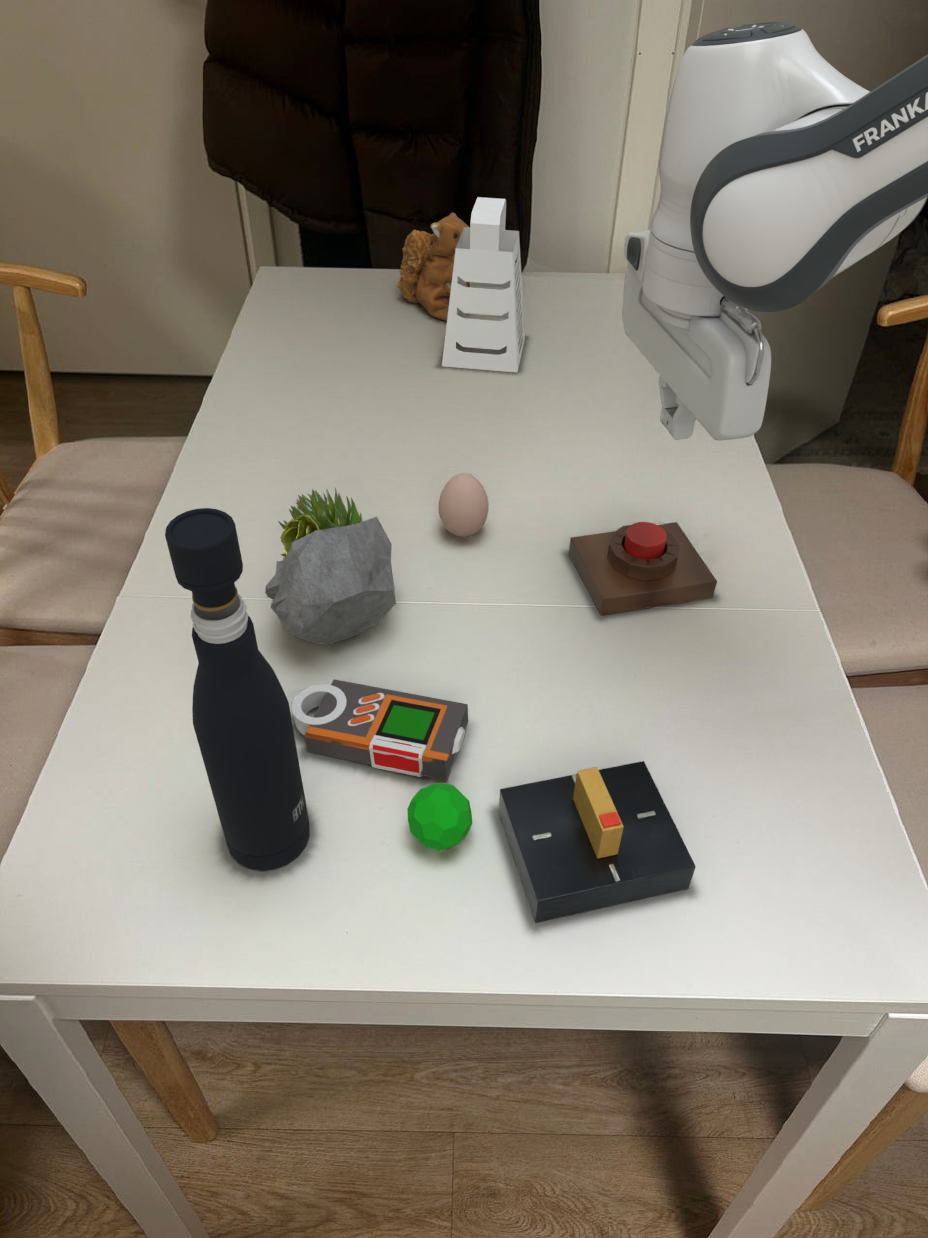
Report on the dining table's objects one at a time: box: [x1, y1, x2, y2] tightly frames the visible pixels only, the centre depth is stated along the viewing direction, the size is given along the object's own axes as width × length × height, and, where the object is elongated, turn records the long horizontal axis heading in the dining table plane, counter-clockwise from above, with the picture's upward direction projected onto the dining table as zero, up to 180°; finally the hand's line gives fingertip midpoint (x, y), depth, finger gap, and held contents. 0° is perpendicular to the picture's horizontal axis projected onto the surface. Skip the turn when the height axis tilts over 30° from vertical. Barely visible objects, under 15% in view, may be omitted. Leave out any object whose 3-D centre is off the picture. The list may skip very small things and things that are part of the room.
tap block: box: [498, 760, 697, 924], centre depth 71 cm, size 12×10×3 cm
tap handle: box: [573, 766, 624, 859], centre depth 69 cm, size 6×2×4 cm, turn 14°
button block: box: [568, 521, 718, 616], centre depth 95 cm, size 12×10×4 cm
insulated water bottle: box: [164, 507, 311, 872], centre depth 62 cm, size 6×6×30 cm
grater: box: [441, 196, 526, 373], centre depth 125 cm, size 10×10×20 cm
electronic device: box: [291, 679, 469, 781], centre depth 79 cm, size 7×3×15 cm
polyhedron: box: [407, 782, 473, 851], centre depth 71 cm, size 5×5×5 cm
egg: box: [437, 472, 489, 538], centre depth 99 cm, size 5×5×7 cm
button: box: [624, 521, 667, 559], centre depth 93 cm, size 4×4×2 cm
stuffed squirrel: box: [396, 212, 471, 322], centre depth 139 cm, size 10×14×13 cm
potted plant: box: [264, 487, 397, 646], centre depth 88 cm, size 12×13×15 cm
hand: (675, 430), depth 80 cm, fingers closed
